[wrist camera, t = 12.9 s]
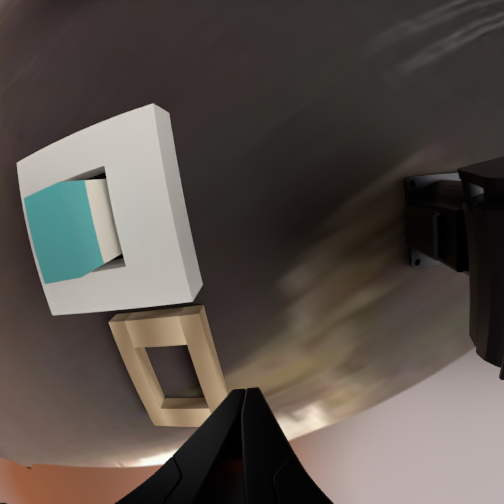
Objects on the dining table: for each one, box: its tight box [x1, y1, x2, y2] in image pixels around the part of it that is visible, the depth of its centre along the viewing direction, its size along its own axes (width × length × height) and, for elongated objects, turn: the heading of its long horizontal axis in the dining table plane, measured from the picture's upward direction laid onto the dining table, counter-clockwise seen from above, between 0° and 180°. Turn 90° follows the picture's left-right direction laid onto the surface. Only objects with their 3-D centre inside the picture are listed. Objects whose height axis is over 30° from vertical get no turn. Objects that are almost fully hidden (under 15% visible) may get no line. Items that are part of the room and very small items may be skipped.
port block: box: [17, 104, 203, 315], centre depth 18 cm, size 12×12×3 cm
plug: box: [24, 179, 122, 284], centre depth 16 cm, size 3×5×7 cm, turn 11°
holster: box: [108, 305, 228, 427], centre depth 22 cm, size 7×11×2 cm
